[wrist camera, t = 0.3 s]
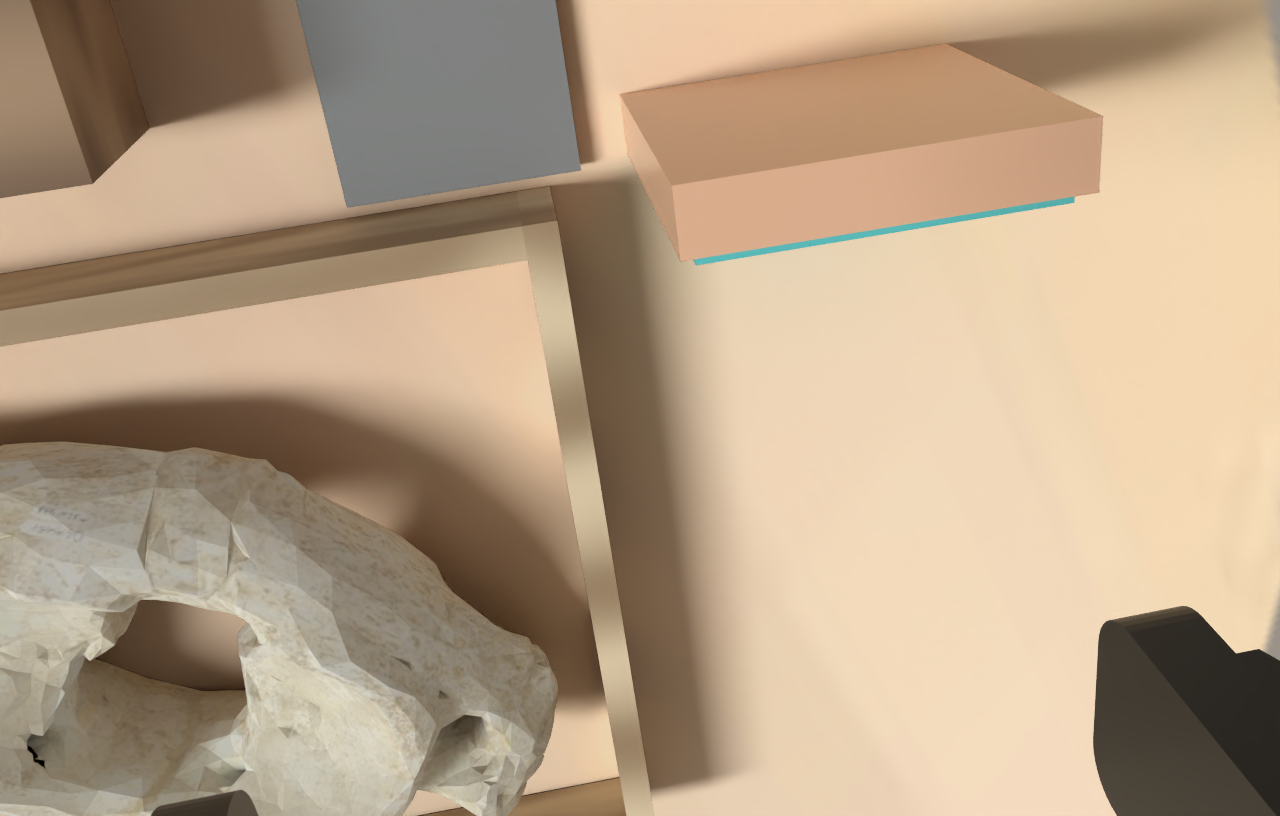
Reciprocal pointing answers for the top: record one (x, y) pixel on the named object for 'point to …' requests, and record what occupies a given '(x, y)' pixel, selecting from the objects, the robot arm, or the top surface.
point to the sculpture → (243, 648)
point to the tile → (853, 151)
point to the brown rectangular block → (63, 94)
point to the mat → (440, 93)
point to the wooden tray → (367, 258)
